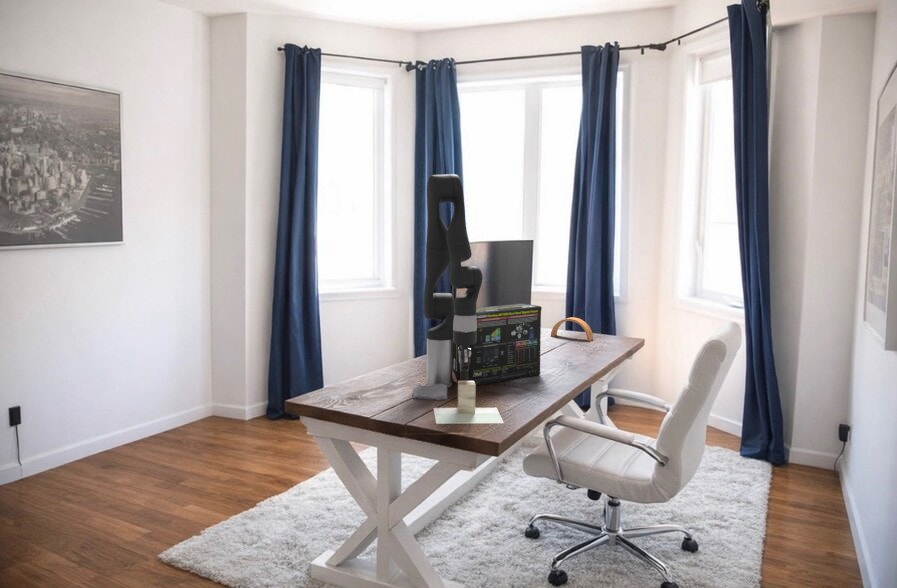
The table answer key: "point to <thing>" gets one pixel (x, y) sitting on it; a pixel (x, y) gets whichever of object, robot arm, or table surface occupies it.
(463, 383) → the birch block
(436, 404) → the table surface
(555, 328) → the arch
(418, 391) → the stone block
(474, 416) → the board
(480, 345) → the router box
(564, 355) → the table surface
